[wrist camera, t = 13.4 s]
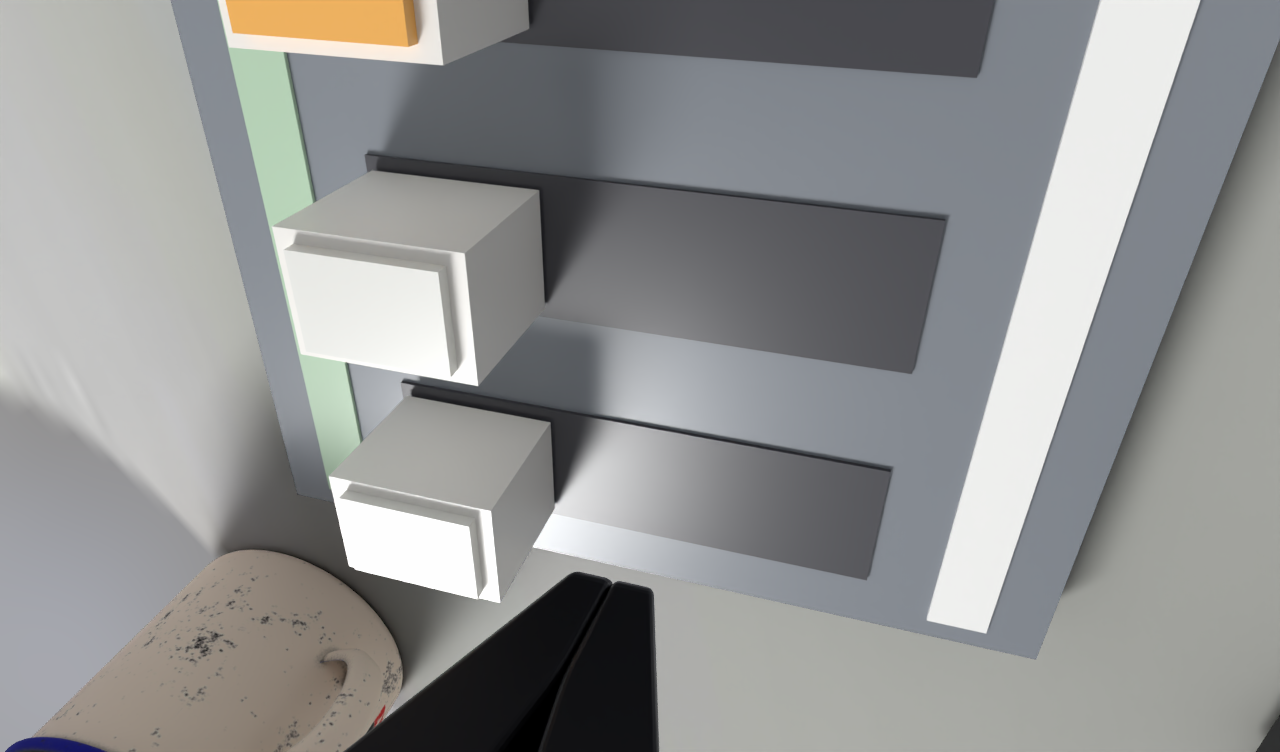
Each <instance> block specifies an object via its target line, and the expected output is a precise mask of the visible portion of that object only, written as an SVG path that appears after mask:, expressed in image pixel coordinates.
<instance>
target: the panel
mask: <svg viewBox="0 0 1280 752" xmlns="http://www.w3.org/2000/svg"><path fill="white" fill-rule="evenodd" d="M171 3H172V7H173V11H174V15H175V19H176V23H177V27H178V31H179V35H180V38H181V42H182V46H183V50H184V54H185V58H186V62H187V66H188V70H189V74H190V77H191V81H192V85H193V89H194V93H195V97H196V101H197V105H198V109H199V113H200V116H201V120H202V124H203V128H204V132H205V136H206V140H207V144H208V148H209V152H210V155H211V159H212V163H213V167H214V171H215V175H216V179H217V183H218V187H219V191H220V194H221V198H222V202H223V206H224V210H225V214H226V218H227V222H228V226H229V230H230V233H231V237H232V241H233V245H234V249H235V253H236V257H237V261H238V265H239V269H240V272H241V276H242V280H243V284H244V288H245V292H246V296H247V300H248V304H249V308H250V311H251V315H252V319H253V323H254V327H255V331H256V335H257V339H258V343H259V347H260V350H261V354H262V358H263V362H264V366H265V370H266V374H267V378H268V382H269V386H270V389H271V393H272V397H273V401H274V405H275V409H276V413H277V417H278V421H279V425H280V428H281V432H282V436H283V440H284V444H285V448H286V452H287V456H288V460H289V464H290V467H291V471H292V475H293V479H294V483H295V487H296V491H297V494H298V495H302V496H307V497H311V498H316V499H320V500H325V501H329V502H334V498H333V493H332V489H331V484H330V480H329V475H330V474H331V473H332V472H333V471H334V470H335V469H336V468H337V467H338V466H339V465H340V464H341V463H342V462H343V461H344V460H345V459H346V458H347V457H348V456H349V455H350V454H351V453H352V452H353V451H354V450H355V449H356V448H357V447H358V446H359V444H360V443H361V442H362V441H363V440H364V439H365V438H366V437H367V436H368V435H369V434H370V433H371V432H372V431H373V430H374V429H375V428H376V427H377V426H378V425H379V424H380V423H381V422H382V421H383V420H384V419H385V418H386V417H387V416H388V415H389V414H390V413H391V412H392V411H393V410H394V409H395V408H396V406H397V405H398V404H399V403H400V402H401V401H402V400H403V399H404V398H405V397H406V396H411V397H417V398H422V399H428V400H433V401H438V402H444V403H449V404H455V405H460V406H465V407H471V408H476V409H481V410H487V411H492V412H498V413H503V414H508V415H514V416H519V417H524V418H530V419H535V420H541V421H546V422H551V442H552V462H553V483H554V503H555V509H554V511H553V512H552V514H551V516H550V517H549V519H548V521H547V523H546V524H545V526H544V528H543V530H542V531H541V533H540V535H539V537H538V538H537V540H536V542H535V543H534V545H533V547H535V548H539V549H544V550H548V551H553V552H557V553H562V554H566V555H571V556H575V557H580V558H584V559H589V560H593V561H597V562H602V563H606V564H611V565H615V566H620V567H624V568H629V569H633V570H638V571H642V572H647V573H651V574H656V575H660V576H665V577H669V578H673V579H678V580H682V581H687V582H691V583H696V584H700V585H705V586H709V587H714V588H718V589H723V590H727V591H732V592H736V593H741V594H745V595H749V596H754V597H758V598H763V599H767V600H772V601H776V602H781V603H785V604H790V605H794V606H799V607H803V608H808V609H812V610H817V611H821V612H825V613H830V614H834V615H839V616H843V617H848V618H852V619H857V620H861V621H866V622H870V623H875V624H879V625H884V626H888V627H893V628H897V629H901V630H906V631H910V632H915V633H919V634H924V635H928V636H933V637H937V638H942V639H946V640H951V641H955V642H960V643H964V644H969V645H973V646H977V647H982V648H986V649H991V650H995V651H1000V652H1004V653H1009V654H1013V655H1018V656H1022V657H1027V658H1031V659H1036V658H1037V656H1038V653H1039V650H1040V648H1041V645H1042V643H1043V640H1044V638H1045V635H1046V633H1047V630H1048V628H1049V625H1050V622H1051V620H1052V617H1053V615H1054V612H1055V610H1056V607H1057V605H1058V602H1059V600H1060V597H1061V595H1062V592H1063V589H1064V587H1065V584H1066V582H1067V579H1068V577H1069V574H1070V572H1071V569H1072V567H1073V564H1074V561H1075V559H1076V556H1077V554H1078V551H1079V549H1080V546H1081V544H1082V541H1083V539H1084V536H1085V533H1086V531H1087V528H1088V526H1089V523H1090V521H1091V518H1092V516H1093V513H1094V511H1095V508H1096V505H1097V503H1098V500H1099V498H1100V495H1101V493H1102V490H1103V488H1104V485H1105V483H1106V480H1107V477H1108V475H1109V472H1110V470H1111V467H1112V465H1113V462H1114V460H1115V457H1116V455H1117V452H1118V449H1119V447H1120V444H1121V442H1122V439H1123V437H1124V434H1125V432H1126V429H1127V427H1128V424H1129V422H1130V419H1131V416H1132V414H1133V411H1134V409H1135V406H1136V404H1137V401H1138V399H1139V396H1140V394H1141V391H1142V388H1143V386H1144V383H1145V381H1146V378H1147V376H1148V373H1149V371H1150V368H1151V366H1152V363H1153V360H1154V358H1155V355H1156V353H1157V350H1158V348H1159V345H1160V343H1161V340H1162V338H1163V335H1164V332H1165V330H1166V327H1167V325H1168V322H1169V320H1170V317H1171V315H1172V312H1173V310H1174V307H1175V304H1176V302H1177V299H1178V297H1179V294H1180V292H1181V289H1182V287H1183V284H1184V282H1185V279H1186V276H1187V274H1188V271H1189V269H1190V266H1191V264H1192V261H1193V259H1194V256H1195V254H1196V251H1197V249H1198V246H1199V243H1200V241H1201V238H1202V236H1203V233H1204V231H1205V228H1206V226H1207V223H1208V221H1209V218H1210V215H1211V213H1212V210H1213V208H1214V205H1215V203H1216V200H1217V198H1218V195H1219V193H1220V190H1221V187H1222V185H1223V182H1224V180H1225V177H1226V175H1227V172H1228V170H1229V167H1230V165H1231V162H1232V159H1233V157H1234V154H1235V152H1236V149H1237V147H1238V144H1239V142H1240V139H1241V137H1242V134H1243V131H1244V129H1245V126H1246V124H1247V121H1248V119H1249V116H1250V114H1251V111H1252V109H1253V106H1254V103H1255V101H1256V98H1257V96H1258V93H1259V91H1260V88H1261V86H1262V83H1263V81H1264V78H1265V75H1266V73H1267V70H1268V68H1269V65H1270V63H1271V60H1272V58H1273V55H1274V53H1275V50H1276V48H1277V45H1278V42H1279V40H1280V0H528V13H529V29H528V30H526V31H523V32H521V33H519V34H516V35H514V36H512V37H509V38H507V39H504V40H502V41H500V42H497V43H495V44H493V45H490V46H488V47H486V48H483V49H481V50H478V51H476V52H474V53H471V54H469V55H467V56H464V57H462V58H460V59H457V60H455V61H452V62H450V63H448V64H445V65H432V64H420V63H409V62H397V61H385V60H373V59H361V58H349V57H337V56H325V55H313V54H301V53H289V52H277V51H265V50H253V49H241V48H229V46H228V41H227V37H226V32H225V28H224V24H223V19H222V15H221V11H220V6H219V2H218V0H171ZM372 170H373V171H381V172H390V173H398V174H407V175H415V176H424V177H432V178H441V179H449V180H458V181H466V182H474V183H483V184H491V185H500V186H508V187H517V188H525V189H534V190H539V197H540V217H541V238H542V258H543V278H544V299H545V309H544V310H543V311H542V312H541V313H540V314H539V316H538V317H537V318H536V319H535V320H534V321H533V323H532V324H531V325H530V326H529V327H528V328H527V330H526V331H525V332H524V333H523V334H522V335H521V337H520V338H519V339H518V340H517V341H516V342H515V344H514V345H513V346H512V347H511V348H510V349H509V351H508V352H507V353H506V354H505V355H504V356H503V358H502V359H501V360H500V361H499V362H498V363H497V365H496V366H495V367H494V368H493V369H492V370H491V372H490V373H489V374H488V375H487V376H486V377H485V379H484V380H483V381H482V382H481V383H480V384H479V386H475V385H470V384H464V383H458V382H453V381H447V380H442V379H436V378H431V377H425V376H419V375H414V374H408V373H403V372H397V371H391V370H386V369H380V368H375V367H369V366H364V365H358V364H352V363H347V362H341V361H336V360H330V359H324V358H319V357H313V356H308V355H302V354H301V353H300V348H299V344H298V340H297V335H296V331H295V326H294V322H293V318H292V313H291V309H290V304H289V300H288V296H287V291H286V287H285V282H284V278H283V274H282V269H281V265H280V261H279V256H278V252H277V247H276V243H275V239H274V234H273V230H272V226H273V225H275V224H277V223H279V222H280V221H282V220H284V219H286V218H288V217H289V216H291V215H293V214H295V213H297V212H298V211H300V210H302V209H304V208H306V207H307V206H309V205H311V204H313V203H314V202H316V201H318V200H320V199H322V198H323V197H325V196H327V195H329V194H331V193H332V192H334V191H336V190H338V189H340V188H341V187H343V186H345V185H347V184H349V183H350V182H352V181H354V180H356V179H358V178H359V177H361V176H363V175H365V174H366V173H368V172H370V171H372ZM334 503H335V502H334Z"/></svg>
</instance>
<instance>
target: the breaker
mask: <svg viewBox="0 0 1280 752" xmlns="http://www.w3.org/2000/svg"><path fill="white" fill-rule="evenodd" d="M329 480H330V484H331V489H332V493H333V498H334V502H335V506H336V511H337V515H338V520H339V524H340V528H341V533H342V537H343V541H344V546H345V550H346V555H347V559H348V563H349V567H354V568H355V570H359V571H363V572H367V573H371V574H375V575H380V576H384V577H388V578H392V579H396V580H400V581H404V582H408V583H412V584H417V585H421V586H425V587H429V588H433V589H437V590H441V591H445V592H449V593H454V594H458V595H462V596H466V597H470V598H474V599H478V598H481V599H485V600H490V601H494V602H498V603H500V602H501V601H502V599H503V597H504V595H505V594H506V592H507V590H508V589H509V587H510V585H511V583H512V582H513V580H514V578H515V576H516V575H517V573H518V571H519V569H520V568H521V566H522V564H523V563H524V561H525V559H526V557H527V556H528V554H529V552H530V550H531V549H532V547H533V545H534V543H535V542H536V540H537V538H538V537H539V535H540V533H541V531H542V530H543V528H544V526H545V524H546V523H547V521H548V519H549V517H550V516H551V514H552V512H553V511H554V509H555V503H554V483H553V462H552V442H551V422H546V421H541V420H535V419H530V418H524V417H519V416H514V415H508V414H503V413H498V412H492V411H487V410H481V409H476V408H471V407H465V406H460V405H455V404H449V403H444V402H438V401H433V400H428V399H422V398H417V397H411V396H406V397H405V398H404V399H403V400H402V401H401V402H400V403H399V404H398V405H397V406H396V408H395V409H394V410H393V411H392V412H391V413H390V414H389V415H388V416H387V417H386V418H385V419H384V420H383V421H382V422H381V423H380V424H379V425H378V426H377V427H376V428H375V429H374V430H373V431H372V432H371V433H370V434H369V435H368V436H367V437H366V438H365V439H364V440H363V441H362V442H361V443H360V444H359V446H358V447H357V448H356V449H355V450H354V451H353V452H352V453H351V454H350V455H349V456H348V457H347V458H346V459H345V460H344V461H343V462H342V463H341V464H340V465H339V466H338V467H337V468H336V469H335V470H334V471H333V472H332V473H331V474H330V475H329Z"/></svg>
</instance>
